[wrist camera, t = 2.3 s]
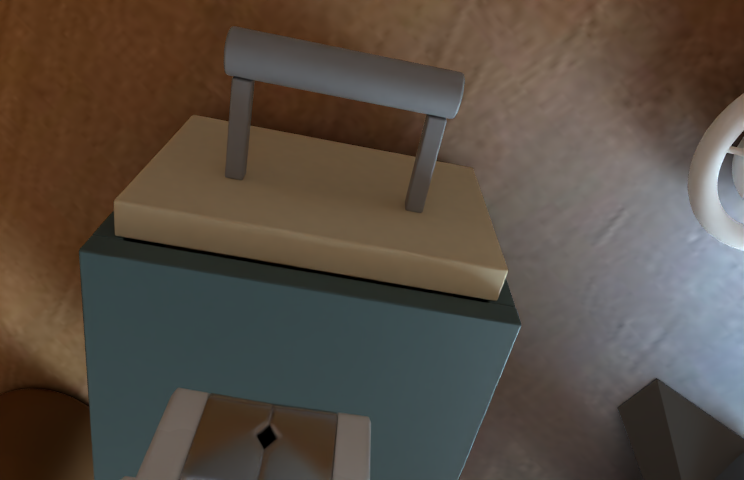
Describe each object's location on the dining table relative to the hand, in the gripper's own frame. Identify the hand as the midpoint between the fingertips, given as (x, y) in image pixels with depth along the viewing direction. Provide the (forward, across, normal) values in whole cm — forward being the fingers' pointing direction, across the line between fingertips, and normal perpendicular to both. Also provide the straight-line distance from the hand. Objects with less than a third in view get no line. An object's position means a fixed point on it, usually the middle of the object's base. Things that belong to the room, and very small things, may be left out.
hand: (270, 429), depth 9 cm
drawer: (+16, 0, +6) cm, 17 cm away
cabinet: (+17, 0, +10) cm, 20 cm away
